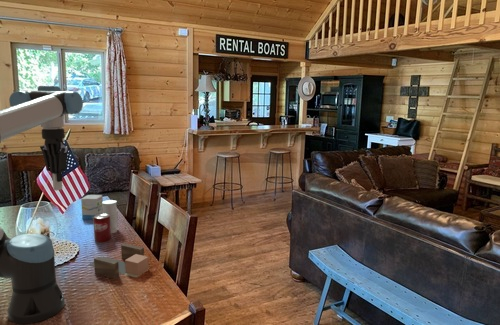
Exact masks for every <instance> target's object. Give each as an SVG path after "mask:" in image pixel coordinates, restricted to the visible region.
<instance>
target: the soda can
mask: <svg viewBox="0 0 500 325" xmlns="http://www.w3.org/2000/svg"><path fill="white" fill-rule="evenodd" d="M92 221H93V223H92V224H93V237H94V242H95V243H97V244H105V243H109V242H111V240H112V238H113V237H112V233H111V220H110V215H108V214H98V215H95V216H94V217H93V219H92Z"/></svg>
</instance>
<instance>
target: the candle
mask: <svg viewBox="0 0 500 325" xmlns="http://www.w3.org/2000/svg"><path fill="white" fill-rule="evenodd" d="M117 202H118V201H117V200H115V199H114V200H113V199H106V200H103V202H102V204H103V214H108V215H110V220H111V234H114V233H117V232H118V229H117V228H119V222H118V220H119V212H118V210H117V208H118V207H117Z"/></svg>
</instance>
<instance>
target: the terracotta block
mask: <svg viewBox="0 0 500 325" xmlns="http://www.w3.org/2000/svg"><path fill="white" fill-rule="evenodd" d="M124 262H125V270H126V273H130V274H133V275H137V276H138V275H139V276H141V275H143V274H144V273H146V272H147V271H148V269H149V268H150V266H149V256H146V255H144V256H142V255H138V254H135V255H133V256H131V257H130V258H128V259H126V260H125V259H124ZM146 270H147V271H146ZM149 270H150V269H149ZM145 271H146V272H145ZM143 272H144V273H143ZM142 273H143V274H142ZM140 274H141V275H140ZM139 276H138V277H139Z"/></svg>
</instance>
